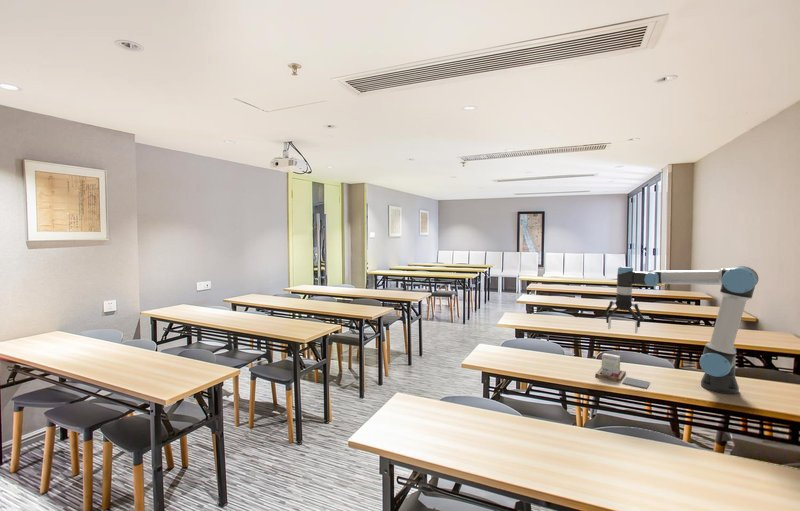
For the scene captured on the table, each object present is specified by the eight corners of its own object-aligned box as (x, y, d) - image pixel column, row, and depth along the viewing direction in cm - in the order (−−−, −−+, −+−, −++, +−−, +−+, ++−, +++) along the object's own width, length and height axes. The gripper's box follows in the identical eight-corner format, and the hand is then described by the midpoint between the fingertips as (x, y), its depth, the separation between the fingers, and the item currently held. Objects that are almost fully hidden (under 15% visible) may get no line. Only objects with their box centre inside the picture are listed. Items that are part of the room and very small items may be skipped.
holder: (625, 374, 218) (625, 371, 218) (619, 382, 205) (619, 378, 205) (602, 369, 225) (602, 366, 225) (595, 376, 213) (595, 373, 213)
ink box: (620, 376, 214) (620, 355, 214) (618, 378, 211) (618, 357, 210) (603, 372, 220) (604, 352, 220) (601, 374, 216) (601, 354, 216)
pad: (649, 383, 205) (649, 381, 205) (646, 389, 196) (646, 387, 196) (626, 378, 212) (626, 377, 212) (622, 383, 203) (622, 382, 203)
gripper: (651, 295, 212) (649, 333, 213) (601, 290, 229) (600, 326, 230) (648, 297, 207) (646, 335, 208) (598, 292, 223) (596, 328, 224)
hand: (622, 330), depth 219 cm, fingers open, 13 cm apart
